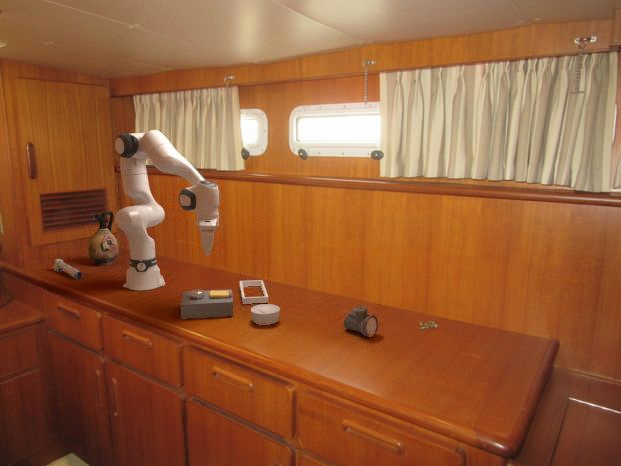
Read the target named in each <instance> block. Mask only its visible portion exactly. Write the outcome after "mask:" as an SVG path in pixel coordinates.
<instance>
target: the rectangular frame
mask: <svg viewBox="0 0 621 466" xmlns="http://www.w3.org/2000/svg"><path fill="white" fill-rule="evenodd" d="M248 286H261V287H260V289H261V288H262V289H261V292H262V291H263V293H262V296H248V297H247V296H246V295H245V292H244V288H249V287H248ZM239 291H241V292H240V297H242V298H241V302H243V303H242V305H243V304H251V305H253V304H252V303H266V302H268V303H269V295H268V292H267V289H266V285H265V283H264V280H263V279H260V280H259V279H255V280H239ZM263 294H264V296H263Z"/></svg>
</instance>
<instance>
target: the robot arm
mask: <svg viewBox="0 0 621 466" xmlns="http://www.w3.org/2000/svg"><path fill="white" fill-rule="evenodd" d="M114 149H115V152H116V154H117V155H118V156H119V157H120V163H119V165H120V176H121V181H122V188H123V193H124V194H125V195H126V196H128V197H129V198H130V199H131V200H132V202H133V204H134V205H131V206H126V207H123V208H121V209H119V210H118V211H117V212H116V213H115V215H114V220H115V221H114V222H115V224H116V226H117V228H118V229H119V230H121V231H122V232H123V233H124V234H125V236H126V238H127V240H128V244H129V246H128V247H129V255H130V258H129V263H128V264H129V267H128V268H127V269H126V282H125V283H124V284H123V285H122V287H123V288H125V289H129V290H133V291H148V290H150V291H151V290H154V289H157V288H160V287H164V286H166V282H165V279H164V277H163V275H161V270H160V268H159V266H158V264H157V263H158V262H157V261H158V259H157V256H156V243H155V239H153V237H151V236H150V235H148V232H147V228H151V227H154V226H158V225H159V224H161V223H162V222H163V221H164V219H165V215H166V214H165V210H164V208H163V207H162V205H160V204H159V203H158V202H157V201H156V200H155V198H154V197H153V194H152V192H151V188H150V184H149V183H150V182H149V178H148V177H149V176H148V170H147V167H146V166H147V165H146V163H147V160H148V159H149V160H150V161H151V163H152V165H153V166H154V167H155V168H156V169H157V170H158V171H160V172H162V173H164V174H165V173H166V174H169V175H176V176H177V177H178V176H179V177H181V178H184V179H185V180H187V181H188V182H189V184H190V185H191V186H189V187H185V188H183V189H181V191H179V194H178V204H179V207H181V209H182V210H184V211H187V212H195V211H196V227H197V228H198V230H199V232H200V238H201V247H202V250H204V255H205V256H206V257H209V256H210V255H211V250H212V249H213V245H214V239H215V232H216V231H217V228H218V227H220V213H219V206H220V203H221V193H220V191H219V186H218V184H217V183H216V182H213V181H211V180H207V179H206V178H205V177H204V176H203V174H202V173H201V172H200V171H199V170H198V169H197V167H195V166H194V165H193V163H192V162H190V161H189V160H187V159H186V158H185V157H184V156H182V154H180V153H179V152H178V151H177V149H176V148H175V147H174V145H173V144H172V143H171V141H169V139H168V138H167V136H165V135H164V134H163V133H162V132H161V131H160V130H157V129H150V130H148V131H146V132H132V133H128V132H127V133H126V132H125V133H120V134H118V135H117V136H116V137H115V139H114Z"/></svg>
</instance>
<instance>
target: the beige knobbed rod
mask: <svg viewBox="0 0 621 466" xmlns="http://www.w3.org/2000/svg"><path fill="white" fill-rule="evenodd" d="M52 267H53V271H54V272H58V273H59V272H64V271H65V272H66V273H67V274H69V275H70V277H71V278H73V279H75V280H79V279H82V278H83V276H84V275H83V273H82V272H81V270H80V269H78V268H75V267H73V266H71V265H69V264H68V263H65V262H64V259H62V258H57V259H54V264H53V265H52Z"/></svg>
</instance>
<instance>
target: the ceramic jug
mask: <svg viewBox="0 0 621 466" xmlns="http://www.w3.org/2000/svg"><path fill="white" fill-rule="evenodd" d="M106 215H109V220H108V219H107V217H106ZM114 220H115V214H114V212H113V211H111V210H105V211H103V212H102V213H101V215H99V214H98V213H95V214H94V215H93V216H92V218H91V221H92V222H94V223H97V224H99V227H98V228H97V230H96V231H95V233H94V234H93V237H92V238H91V240H90V242H89V245H88V256H89V258H90V259H91V260H92V261H93V262H94V263H95V266H99V267H100V266H101V267H103V266H109V265H110V266H111V265H112V264H113V263H114V261H115V260H116V259H117V257H118V256H119V253H120V246H119V242H118V241H117V238H116V237H115V235H113V233H112V226H113V222H114ZM107 223H108V224H107Z"/></svg>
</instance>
